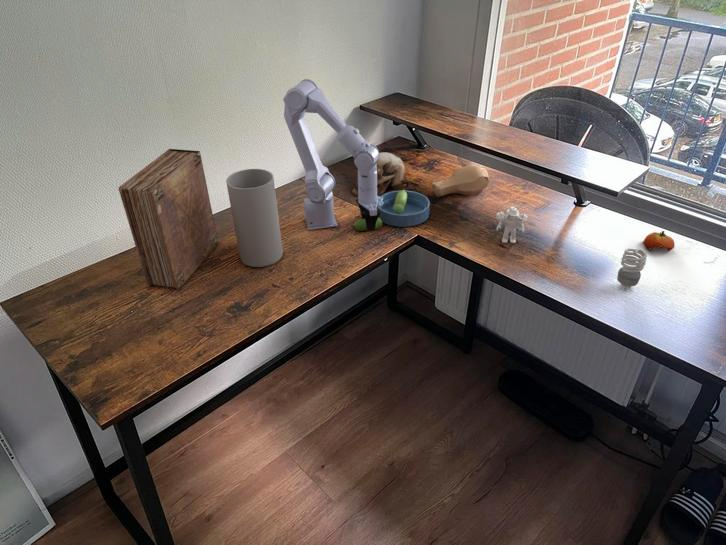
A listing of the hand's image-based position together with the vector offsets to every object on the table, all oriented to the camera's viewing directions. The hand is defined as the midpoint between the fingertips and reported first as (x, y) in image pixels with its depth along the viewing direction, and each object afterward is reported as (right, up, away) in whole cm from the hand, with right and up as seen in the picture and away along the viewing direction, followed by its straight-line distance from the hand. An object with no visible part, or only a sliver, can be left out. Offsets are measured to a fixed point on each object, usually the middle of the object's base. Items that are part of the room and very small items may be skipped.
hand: (368, 225), depth 174 cm
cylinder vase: (-31, -10, -11) cm, 35 cm away
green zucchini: (0, -1, +1) cm, 1 cm away
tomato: (+84, -8, -12) cm, 86 cm away
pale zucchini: (+11, +7, +10) cm, 16 cm away
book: (-53, -12, -13) cm, 56 cm away
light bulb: (+67, -19, -28) cm, 75 cm away
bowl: (+11, +4, +8) cm, 14 cm away
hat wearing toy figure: (+42, -5, -7) cm, 43 cm away
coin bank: (+4, +15, +24) cm, 29 cm away
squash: (+32, +13, +20) cm, 40 cm away
